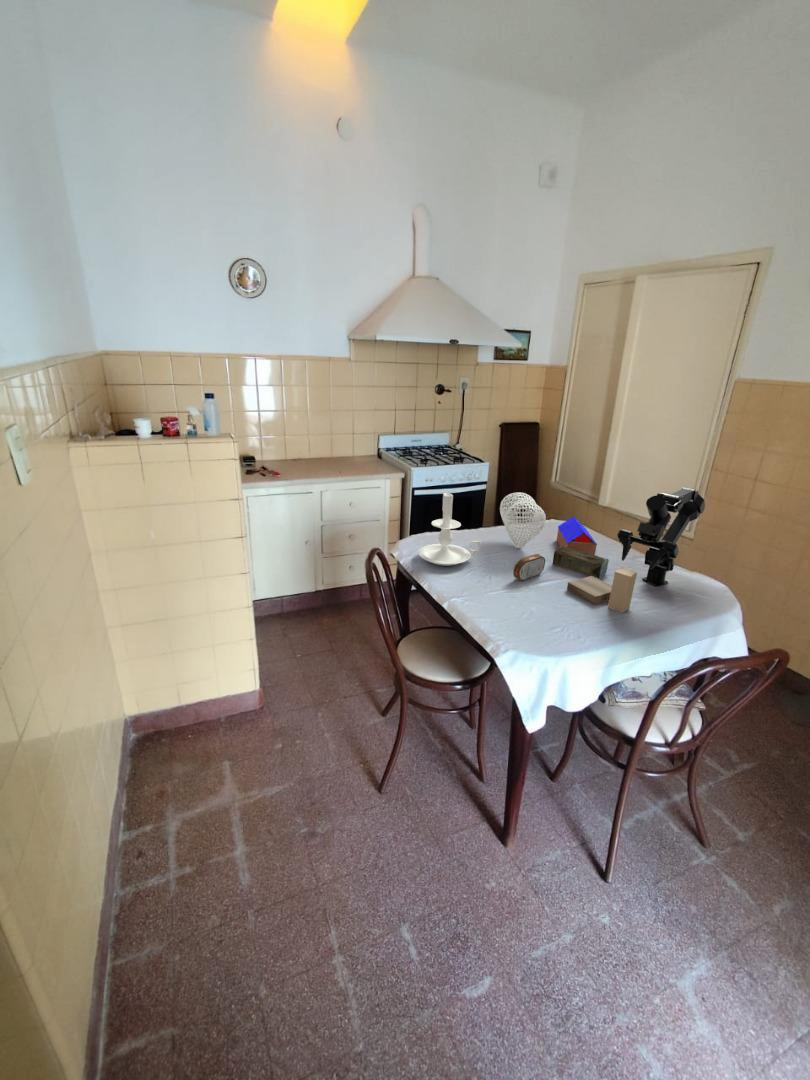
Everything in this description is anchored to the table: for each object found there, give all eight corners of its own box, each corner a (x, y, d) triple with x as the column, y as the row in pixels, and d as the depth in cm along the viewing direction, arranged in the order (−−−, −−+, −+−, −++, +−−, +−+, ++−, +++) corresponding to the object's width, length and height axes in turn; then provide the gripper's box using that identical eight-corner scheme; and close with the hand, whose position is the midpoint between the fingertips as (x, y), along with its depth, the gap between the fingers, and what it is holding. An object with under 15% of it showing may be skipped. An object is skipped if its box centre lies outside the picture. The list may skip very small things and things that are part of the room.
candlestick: (485, 571, 186) (492, 500, 176) (420, 571, 185) (423, 500, 174) (475, 550, 205) (480, 485, 195) (416, 550, 204) (418, 485, 193)
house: (564, 558, 201) (569, 531, 196) (555, 540, 219) (559, 515, 215) (594, 560, 200) (599, 533, 195) (583, 542, 218) (587, 517, 214)
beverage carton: (599, 579, 182) (602, 563, 180) (550, 565, 194) (553, 549, 191) (606, 573, 188) (609, 557, 186) (559, 559, 199) (561, 544, 197)
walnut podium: (590, 583, 179) (591, 575, 178) (618, 597, 169) (619, 589, 168) (566, 589, 173) (568, 582, 172) (594, 604, 164) (595, 596, 163)
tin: (538, 571, 188) (541, 551, 185) (545, 574, 185) (548, 553, 182) (511, 580, 179) (513, 559, 176) (518, 584, 177) (520, 562, 174)
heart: (493, 535, 222) (498, 488, 214) (528, 536, 222) (533, 489, 214) (506, 560, 196) (512, 507, 188) (544, 561, 196) (552, 508, 188)
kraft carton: (614, 602, 166) (621, 567, 161) (629, 607, 162) (637, 572, 158) (607, 607, 163) (615, 571, 158) (622, 612, 159) (630, 576, 154)
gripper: (624, 506, 166) (604, 544, 163) (683, 520, 153) (662, 562, 150) (630, 523, 174) (610, 560, 171) (686, 538, 161) (666, 577, 158)
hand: (636, 564), depth 162 cm, fingers open, 9 cm apart
